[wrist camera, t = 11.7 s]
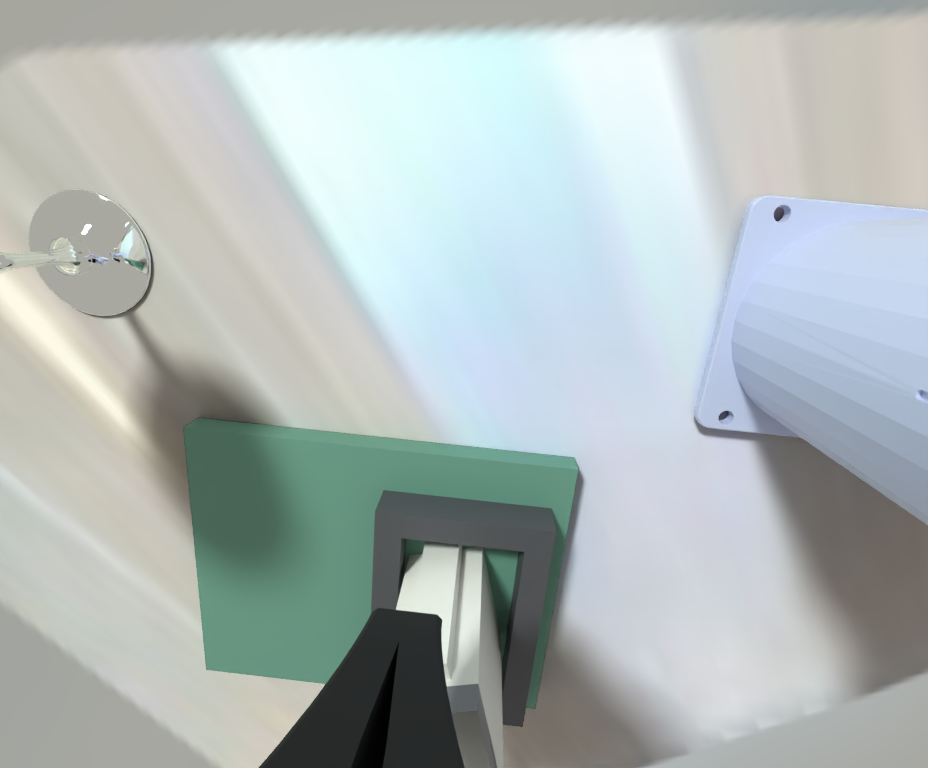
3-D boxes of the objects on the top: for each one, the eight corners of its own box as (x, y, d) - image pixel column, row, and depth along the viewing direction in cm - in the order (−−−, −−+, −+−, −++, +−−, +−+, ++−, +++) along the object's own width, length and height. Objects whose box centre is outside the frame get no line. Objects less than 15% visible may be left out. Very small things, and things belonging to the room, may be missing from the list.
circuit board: (574, 457, 19) (585, 490, 17) (533, 688, 23) (537, 742, 21) (198, 417, 20) (157, 444, 17) (218, 651, 24) (186, 699, 21)
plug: (500, 635, 21) (504, 825, 14) (431, 642, 21) (404, 832, 15) (479, 532, 20) (473, 693, 13) (406, 542, 20) (362, 703, 13)
